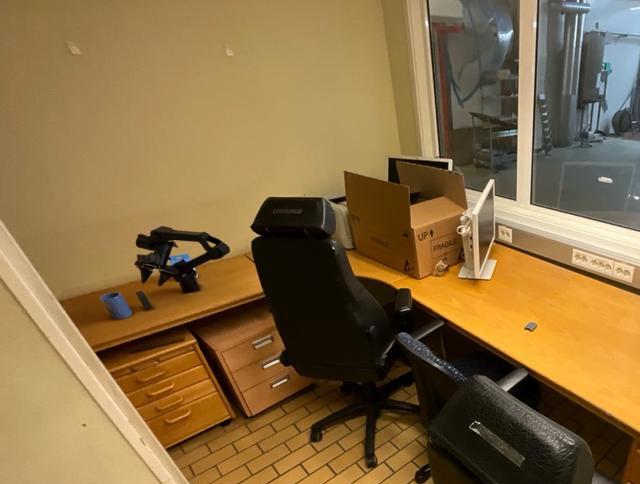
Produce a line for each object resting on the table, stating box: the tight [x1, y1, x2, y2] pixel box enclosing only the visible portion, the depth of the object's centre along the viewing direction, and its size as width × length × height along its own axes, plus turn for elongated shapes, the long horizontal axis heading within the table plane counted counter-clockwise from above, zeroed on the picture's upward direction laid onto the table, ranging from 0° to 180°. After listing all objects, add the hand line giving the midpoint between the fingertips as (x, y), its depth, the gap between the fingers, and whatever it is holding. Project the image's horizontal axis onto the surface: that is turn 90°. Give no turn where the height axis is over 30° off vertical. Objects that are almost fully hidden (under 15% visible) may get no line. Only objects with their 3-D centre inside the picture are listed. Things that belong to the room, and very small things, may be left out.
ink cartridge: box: [135, 290, 154, 311], centre depth 179 cm, size 5×2×8 cm, turn 52°
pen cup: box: [99, 291, 133, 320], centre depth 173 cm, size 7×7×10 cm
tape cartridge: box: [169, 253, 199, 279], centre depth 203 cm, size 9×4×12 cm, turn 119°
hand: (150, 284), depth 181 cm, fingers open, 9 cm apart
